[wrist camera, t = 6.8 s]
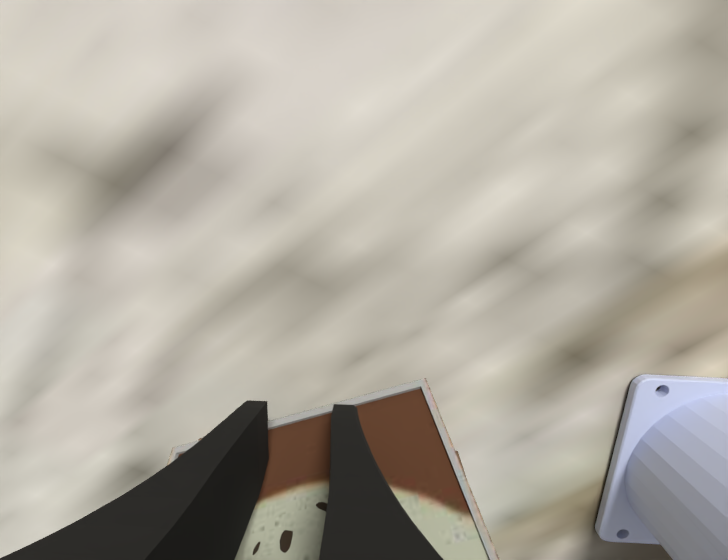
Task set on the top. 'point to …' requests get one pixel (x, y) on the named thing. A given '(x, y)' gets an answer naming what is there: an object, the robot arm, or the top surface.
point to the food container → (394, 458)
